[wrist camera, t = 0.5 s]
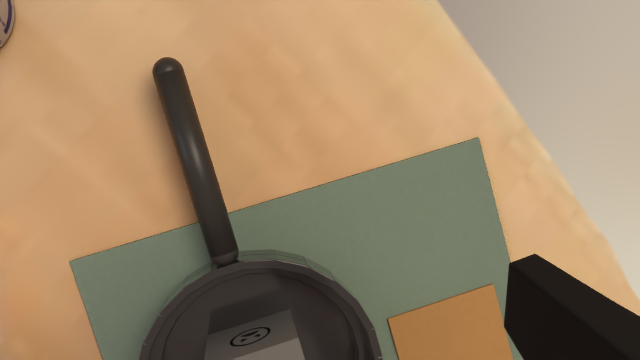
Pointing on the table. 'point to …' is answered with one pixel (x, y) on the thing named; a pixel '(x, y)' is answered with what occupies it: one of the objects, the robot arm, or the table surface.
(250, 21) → the table surface
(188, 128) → the pan handle
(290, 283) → the frying pan
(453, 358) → the desk mat
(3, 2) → the energy drink
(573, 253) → the table surface
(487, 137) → the table surface
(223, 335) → the dice cube
